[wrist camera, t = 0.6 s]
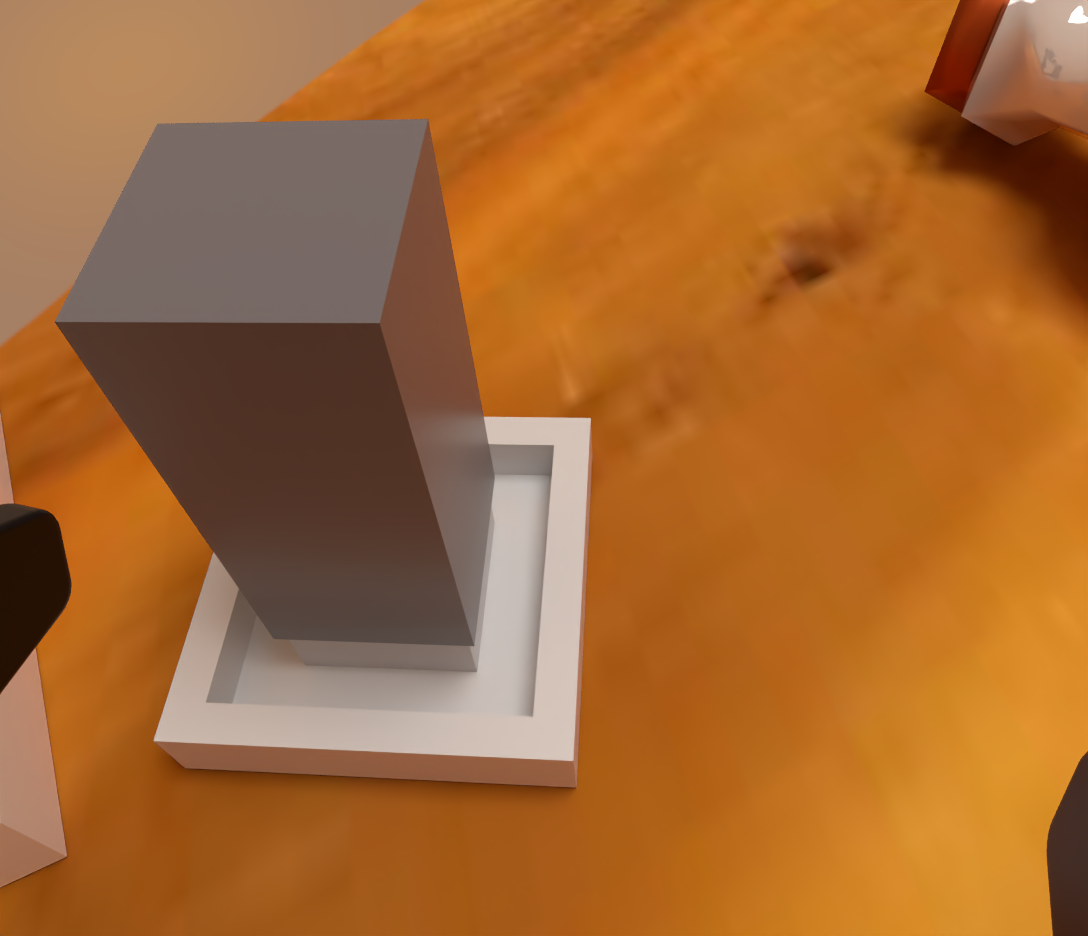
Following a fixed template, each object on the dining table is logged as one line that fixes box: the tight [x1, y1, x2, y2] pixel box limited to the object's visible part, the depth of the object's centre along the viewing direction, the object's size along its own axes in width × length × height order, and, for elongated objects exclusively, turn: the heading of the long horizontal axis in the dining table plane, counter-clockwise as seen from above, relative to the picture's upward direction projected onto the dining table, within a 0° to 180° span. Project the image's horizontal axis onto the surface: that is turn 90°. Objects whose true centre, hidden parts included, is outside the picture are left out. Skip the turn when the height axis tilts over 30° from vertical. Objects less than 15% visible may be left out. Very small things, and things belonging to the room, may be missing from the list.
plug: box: [55, 119, 495, 672], centre depth 20 cm, size 5×5×13 cm
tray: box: [154, 417, 592, 788], centre depth 25 cm, size 10×10×2 cm
